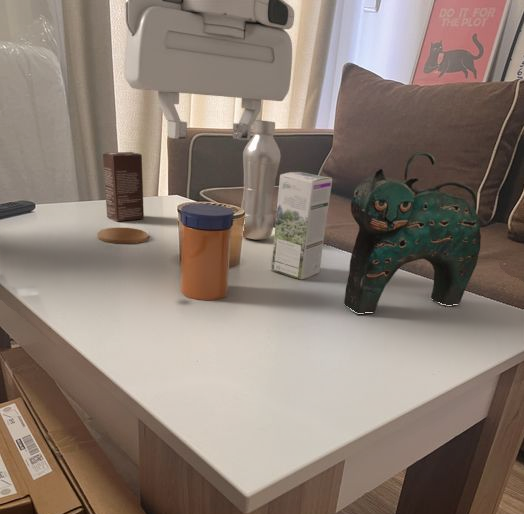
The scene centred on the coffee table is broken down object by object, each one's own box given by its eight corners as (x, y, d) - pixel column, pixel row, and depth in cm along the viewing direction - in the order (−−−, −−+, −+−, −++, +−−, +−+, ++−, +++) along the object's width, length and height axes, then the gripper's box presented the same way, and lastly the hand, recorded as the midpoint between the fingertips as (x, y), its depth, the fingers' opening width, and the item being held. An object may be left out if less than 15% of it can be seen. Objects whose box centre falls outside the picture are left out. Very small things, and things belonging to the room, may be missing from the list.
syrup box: (320, 273, 82) (334, 176, 75) (300, 281, 77) (313, 179, 71) (290, 264, 85) (301, 170, 78) (269, 271, 80) (278, 172, 74)
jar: (191, 302, 66) (193, 220, 62) (173, 286, 71) (175, 208, 66) (235, 297, 69) (240, 218, 64) (215, 282, 74) (219, 207, 69)
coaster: (104, 245, 85) (104, 241, 85) (92, 231, 91) (92, 228, 91) (154, 242, 89) (154, 239, 88) (139, 229, 95) (139, 226, 95)
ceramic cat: (349, 319, 66) (379, 151, 57) (325, 300, 71) (349, 143, 62) (471, 309, 73) (515, 159, 64) (441, 293, 78) (478, 151, 70)
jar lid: (192, 230, 62) (193, 216, 61) (173, 217, 67) (173, 204, 66) (241, 228, 65) (242, 214, 64) (219, 216, 70) (220, 203, 69)
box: (132, 214, 105) (131, 150, 100) (144, 219, 102) (143, 154, 97) (104, 217, 101) (101, 151, 96) (116, 222, 98) (113, 154, 93)
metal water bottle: (244, 231, 101) (253, 118, 92) (277, 238, 99) (289, 123, 90) (230, 238, 95) (238, 119, 86) (265, 245, 93) (276, 124, 84)
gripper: (141, -24, 47) (142, 141, 53) (305, 13, 59) (291, 144, 65) (110, -19, 51) (115, 133, 58) (270, 15, 63) (260, 137, 70)
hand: (210, 139), depth 62 cm, fingers open, 8 cm apart
